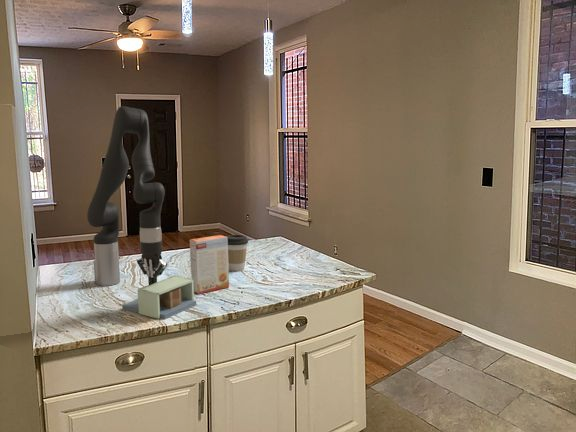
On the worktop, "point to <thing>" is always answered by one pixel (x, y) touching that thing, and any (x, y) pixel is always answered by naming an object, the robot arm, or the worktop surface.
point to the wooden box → (170, 298)
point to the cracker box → (209, 263)
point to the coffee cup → (236, 252)
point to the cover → (150, 293)
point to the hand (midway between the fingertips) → (152, 286)
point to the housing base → (164, 311)
